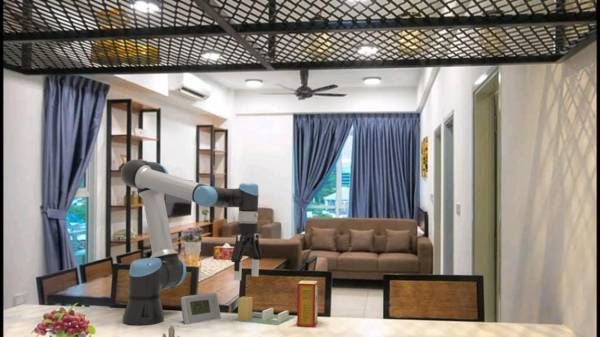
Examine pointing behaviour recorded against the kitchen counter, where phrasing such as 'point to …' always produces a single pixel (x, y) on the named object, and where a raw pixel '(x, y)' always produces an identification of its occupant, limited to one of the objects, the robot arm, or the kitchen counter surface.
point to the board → (268, 317)
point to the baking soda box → (307, 303)
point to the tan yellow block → (245, 308)
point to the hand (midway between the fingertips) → (246, 278)
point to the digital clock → (200, 308)
